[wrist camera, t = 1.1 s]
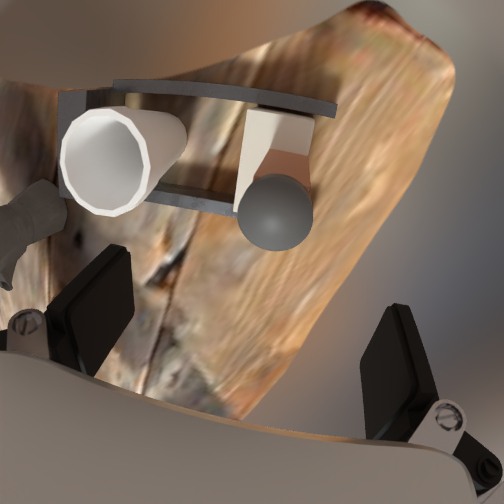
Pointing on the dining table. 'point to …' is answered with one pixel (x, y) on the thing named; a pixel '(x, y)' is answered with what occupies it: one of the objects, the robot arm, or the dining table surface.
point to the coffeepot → (28, 224)
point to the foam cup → (119, 156)
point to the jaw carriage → (275, 179)
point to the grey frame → (92, 98)
